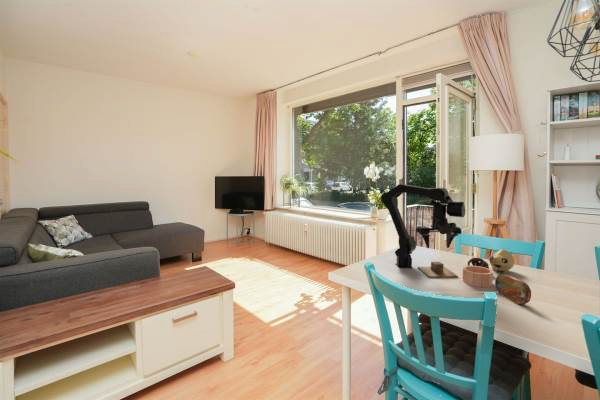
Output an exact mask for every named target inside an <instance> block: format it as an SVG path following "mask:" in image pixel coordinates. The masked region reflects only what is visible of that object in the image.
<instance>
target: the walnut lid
mask: <svg viewBox="0 0 600 400" xmlns="http://www.w3.org/2000/svg"><path fill="white" fill-rule="evenodd" d="M430 263H431V264H430V266H417V268H418V269H419V270H420V271H421V272H422V273H424V274H425V275H426V276H427V277H428V278H458V277H459V276H458V275H457V274H456V273H454V272H453V271H451V270H450V269H449V268H447V267H445V266H444V263H442V262H441V261H431V262H430Z"/></svg>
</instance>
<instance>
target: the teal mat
mask: <svg viewBox="0 0 600 400" xmlns="http://www.w3.org/2000/svg"><path fill="white" fill-rule="evenodd" d="M415 269H416V270H417V272H419V273H420V274H421V275H422V276H423V277H424V278H426V279H427V280H438V279H439V280H441V279H442V280H443V279H444V280H446V279H447V280H449V279H450V280H451V279H453V280H454V279H455V280H457V279H462V278H461V277H460V276H458V278H428V277H427V276H426V275H425V274H424V273H422V272H421V271H420V270H419V269H418V267H415Z"/></svg>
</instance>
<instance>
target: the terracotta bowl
mask: <svg viewBox="0 0 600 400" xmlns="http://www.w3.org/2000/svg"><path fill="white" fill-rule="evenodd" d="M493 276H494V270H493V269H490V268H489V269H488V268H484V267H480V266H473V265H470V266H468V265H465V266H463V267H462V281H463V283H465V284H466V285H468V286H473V287H478V288H490V287H492V285H493V280H494V279H493Z"/></svg>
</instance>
